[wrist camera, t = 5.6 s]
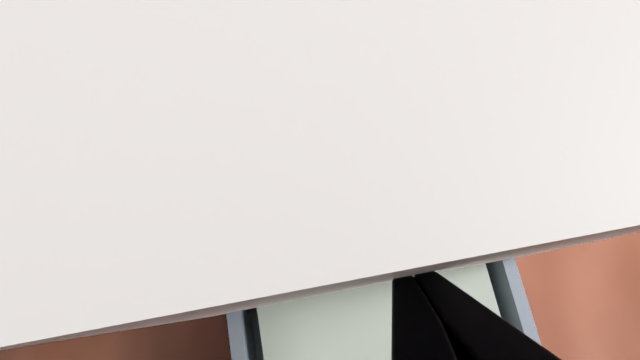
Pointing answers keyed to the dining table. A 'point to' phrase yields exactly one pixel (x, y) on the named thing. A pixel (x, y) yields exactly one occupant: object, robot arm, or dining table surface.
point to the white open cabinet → (298, 149)
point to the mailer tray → (364, 318)
